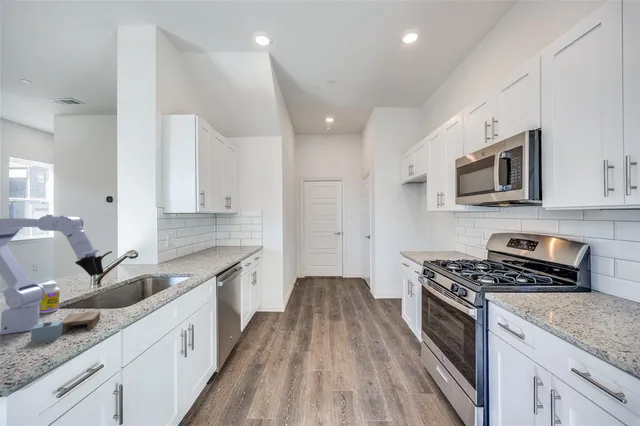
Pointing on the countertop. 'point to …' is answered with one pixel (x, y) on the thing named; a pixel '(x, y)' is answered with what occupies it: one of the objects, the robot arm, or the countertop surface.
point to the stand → (81, 319)
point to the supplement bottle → (50, 298)
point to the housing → (46, 331)
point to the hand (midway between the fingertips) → (97, 274)
